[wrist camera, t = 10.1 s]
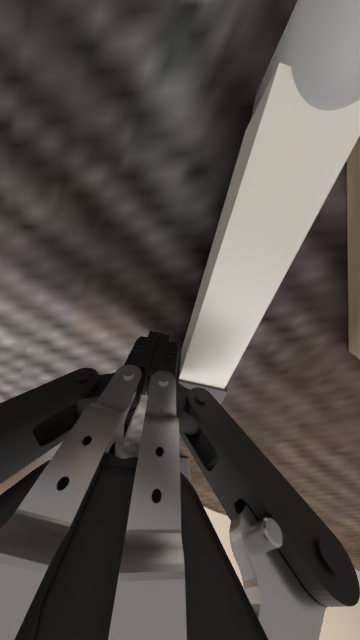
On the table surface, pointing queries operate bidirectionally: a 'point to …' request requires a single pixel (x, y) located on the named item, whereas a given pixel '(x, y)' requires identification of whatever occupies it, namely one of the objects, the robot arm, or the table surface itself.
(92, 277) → the table surface
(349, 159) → the rail
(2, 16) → the table surface
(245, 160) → the folding leg
